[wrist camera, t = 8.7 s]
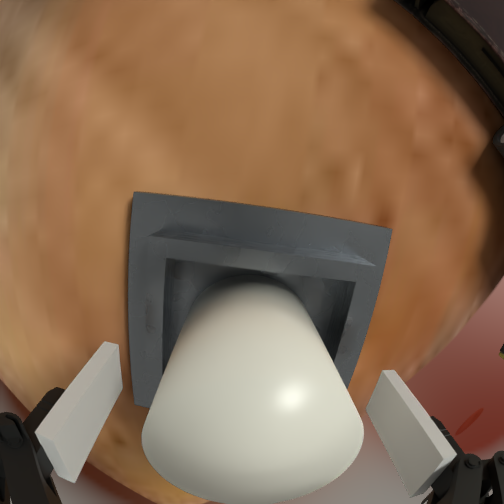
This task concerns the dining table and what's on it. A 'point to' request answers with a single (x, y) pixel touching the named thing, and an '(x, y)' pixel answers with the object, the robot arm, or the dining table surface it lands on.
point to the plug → (250, 400)
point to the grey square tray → (245, 272)
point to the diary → (469, 37)
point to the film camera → (500, 140)
